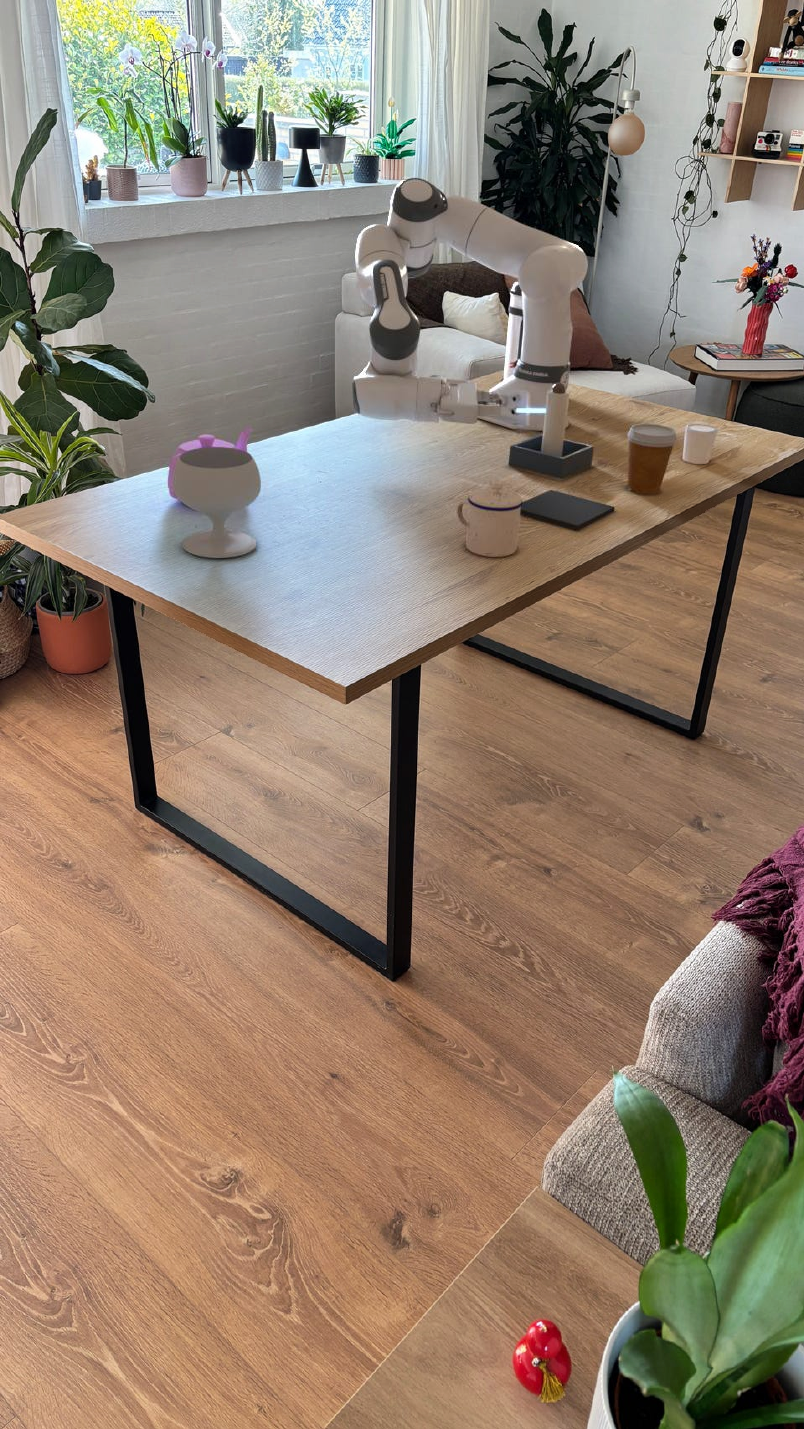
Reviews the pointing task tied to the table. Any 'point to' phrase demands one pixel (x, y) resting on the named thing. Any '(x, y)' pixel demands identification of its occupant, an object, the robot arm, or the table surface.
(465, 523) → the teacup with lid
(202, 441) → the teapot
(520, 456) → the basket
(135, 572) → the table surface
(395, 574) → the table surface
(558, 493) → the mat
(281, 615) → the table surface
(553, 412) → the pepper mill
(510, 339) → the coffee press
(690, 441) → the white cup
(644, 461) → the disposable coffee cup
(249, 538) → the chalice
